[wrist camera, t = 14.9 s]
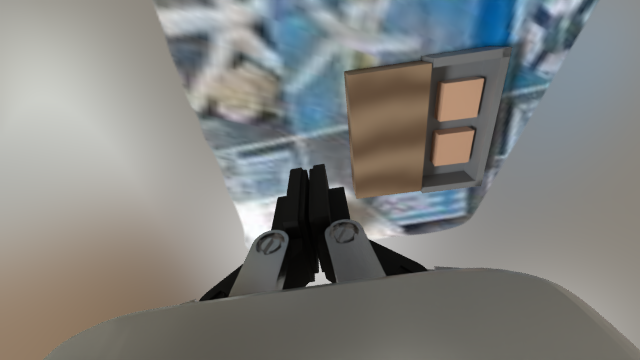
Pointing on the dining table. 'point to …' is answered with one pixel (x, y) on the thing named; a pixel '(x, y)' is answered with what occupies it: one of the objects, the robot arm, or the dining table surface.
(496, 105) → the tray
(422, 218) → the dining table surface
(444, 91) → the tile
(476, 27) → the dining table surface
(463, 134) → the tile
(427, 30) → the dining table surface
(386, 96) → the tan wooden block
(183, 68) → the dining table surface
